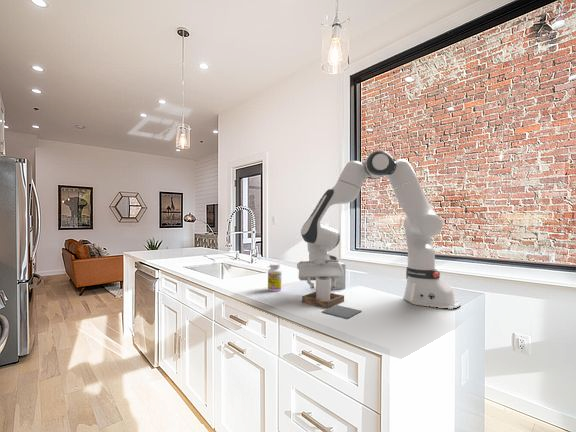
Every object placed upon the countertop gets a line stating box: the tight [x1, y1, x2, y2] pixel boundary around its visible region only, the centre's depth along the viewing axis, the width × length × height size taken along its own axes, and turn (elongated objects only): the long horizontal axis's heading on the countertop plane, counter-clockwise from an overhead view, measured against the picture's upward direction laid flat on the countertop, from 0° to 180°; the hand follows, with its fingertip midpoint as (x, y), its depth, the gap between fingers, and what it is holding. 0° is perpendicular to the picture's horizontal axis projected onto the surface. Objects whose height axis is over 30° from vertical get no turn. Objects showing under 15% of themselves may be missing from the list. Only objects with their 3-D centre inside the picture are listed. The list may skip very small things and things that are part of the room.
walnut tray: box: [301, 291, 345, 309], centre depth 131 cm, size 13×13×2 cm
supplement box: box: [331, 261, 346, 290], centre depth 156 cm, size 7×7×13 cm
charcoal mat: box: [321, 304, 362, 320], centre depth 117 cm, size 11×11×1 cm
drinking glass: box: [315, 277, 332, 301], centre depth 130 cm, size 7×7×10 cm
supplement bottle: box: [267, 262, 282, 292], centre depth 150 cm, size 7×7×13 cm
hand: (323, 287), depth 131 cm, fingers open, 8 cm apart
